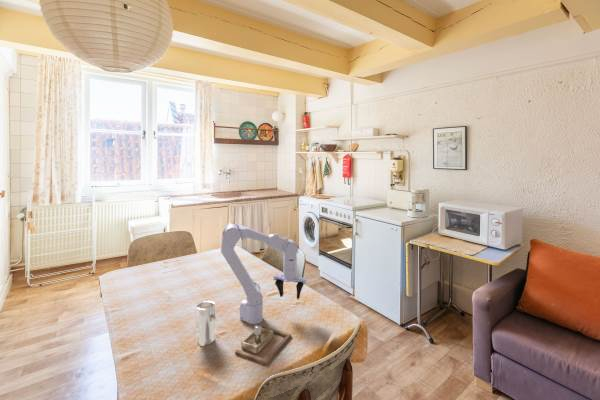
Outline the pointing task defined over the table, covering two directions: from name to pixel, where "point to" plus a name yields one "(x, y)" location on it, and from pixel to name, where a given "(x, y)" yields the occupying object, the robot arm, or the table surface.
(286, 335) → the bay
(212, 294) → the table surface
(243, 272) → the robot arm
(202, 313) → the silver metal tumbler
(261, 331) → the crate
